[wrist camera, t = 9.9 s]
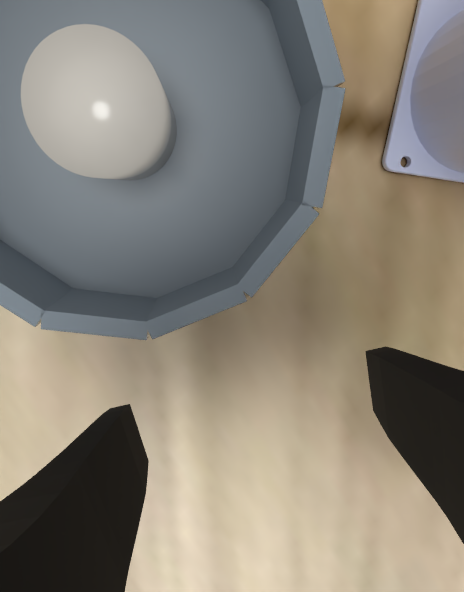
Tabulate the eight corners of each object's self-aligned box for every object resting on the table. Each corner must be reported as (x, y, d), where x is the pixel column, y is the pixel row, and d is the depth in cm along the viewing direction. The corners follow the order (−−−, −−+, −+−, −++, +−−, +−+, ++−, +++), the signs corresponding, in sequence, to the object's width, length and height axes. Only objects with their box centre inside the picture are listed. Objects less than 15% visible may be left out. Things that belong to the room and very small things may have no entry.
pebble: (180, 79, 17) (168, 35, 12) (172, 185, 18) (159, 185, 13) (74, 64, 16) (18, 13, 11) (74, 174, 17) (22, 169, 13)
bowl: (340, -45, 17) (387, -127, 12) (275, 320, 21) (293, 355, 17) (-73, -130, 15) (-186, -257, 11) (-51, 283, 19) (-125, 311, 15)
